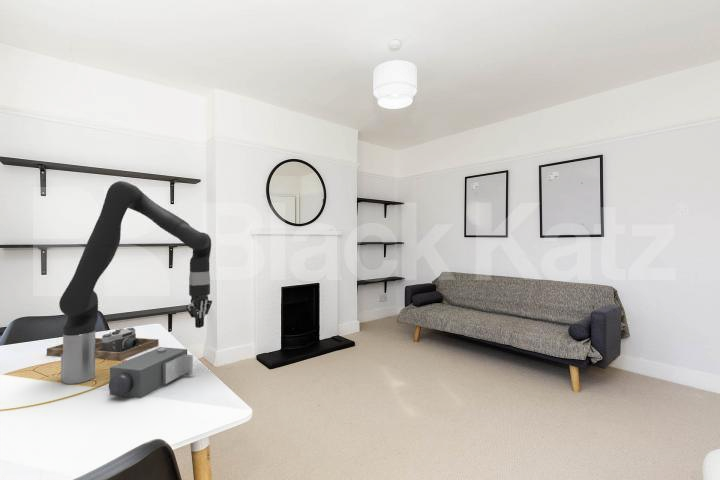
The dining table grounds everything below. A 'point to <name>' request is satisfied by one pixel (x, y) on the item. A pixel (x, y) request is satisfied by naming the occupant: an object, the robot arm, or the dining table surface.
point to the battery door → (177, 367)
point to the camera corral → (144, 345)
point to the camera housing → (141, 373)
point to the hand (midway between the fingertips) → (199, 327)
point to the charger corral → (59, 349)
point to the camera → (120, 340)
